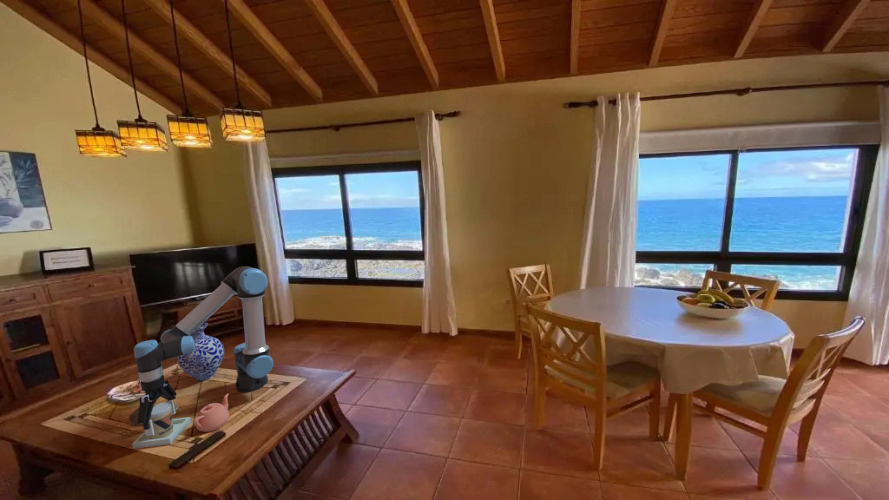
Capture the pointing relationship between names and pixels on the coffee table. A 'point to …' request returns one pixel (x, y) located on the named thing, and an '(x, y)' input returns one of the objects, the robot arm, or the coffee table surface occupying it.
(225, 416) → the teapot
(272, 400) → the coffee table surface
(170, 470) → the coffee table surface
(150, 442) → the tray
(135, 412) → the block
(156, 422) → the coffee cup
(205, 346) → the vase
